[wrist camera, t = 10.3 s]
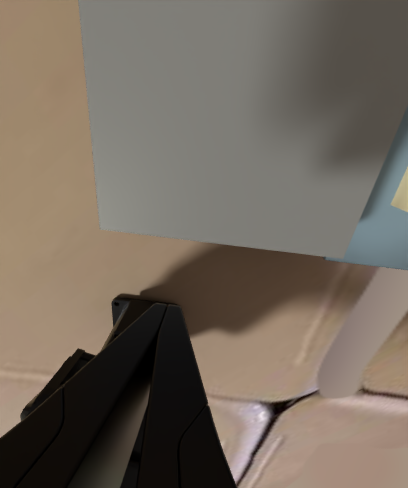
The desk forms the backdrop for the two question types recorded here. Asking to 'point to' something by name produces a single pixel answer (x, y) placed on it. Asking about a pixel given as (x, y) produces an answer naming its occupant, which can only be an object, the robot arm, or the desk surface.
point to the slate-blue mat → (383, 214)
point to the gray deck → (243, 116)
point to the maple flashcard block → (402, 194)
